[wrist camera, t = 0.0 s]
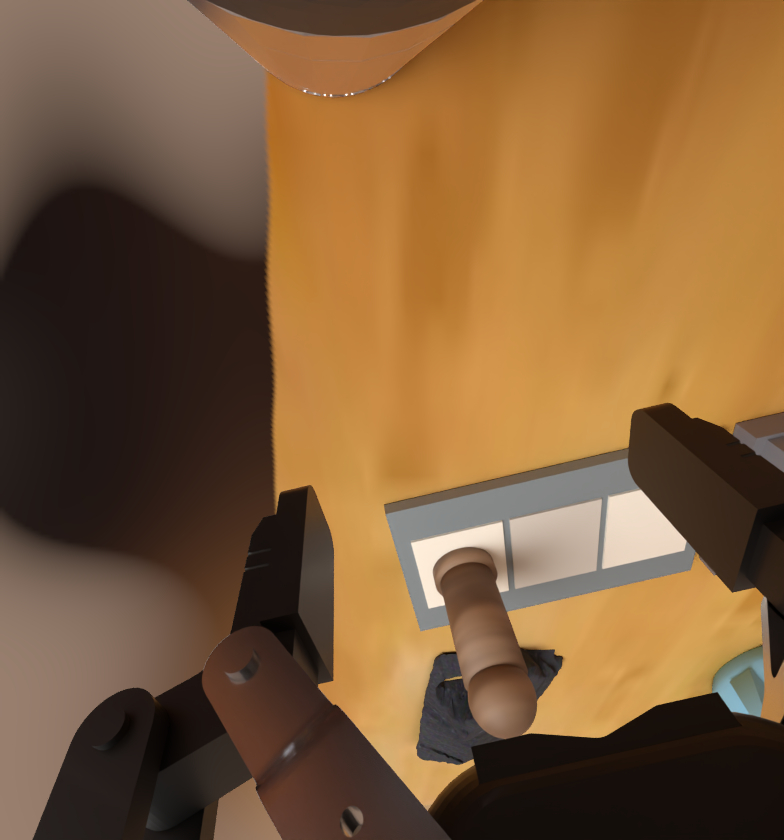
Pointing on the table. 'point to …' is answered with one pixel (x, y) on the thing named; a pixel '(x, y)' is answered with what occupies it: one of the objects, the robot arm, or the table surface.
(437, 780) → the table surface
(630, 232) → the table surface
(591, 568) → the board
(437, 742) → the black folded cloth
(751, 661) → the teapot
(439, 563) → the pawn
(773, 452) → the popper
